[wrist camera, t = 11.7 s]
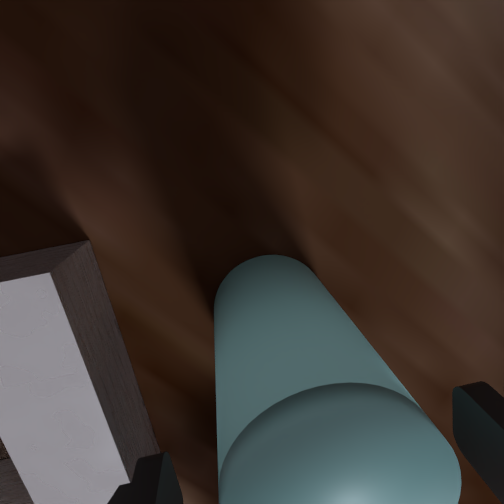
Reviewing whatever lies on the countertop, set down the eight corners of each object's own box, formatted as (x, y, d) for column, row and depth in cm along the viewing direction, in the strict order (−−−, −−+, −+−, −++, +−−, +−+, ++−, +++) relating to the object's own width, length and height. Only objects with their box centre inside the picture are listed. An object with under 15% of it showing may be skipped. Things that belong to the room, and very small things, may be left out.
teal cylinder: (317, 244, 17) (462, 382, 7) (329, 343, 18) (460, 563, 9) (202, 267, 16) (193, 445, 7) (225, 366, 18) (244, 619, 8)
